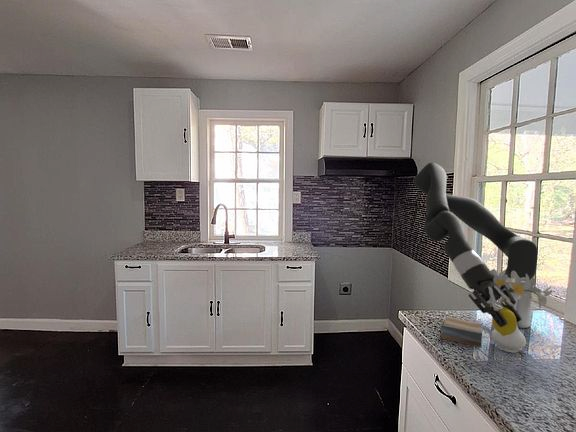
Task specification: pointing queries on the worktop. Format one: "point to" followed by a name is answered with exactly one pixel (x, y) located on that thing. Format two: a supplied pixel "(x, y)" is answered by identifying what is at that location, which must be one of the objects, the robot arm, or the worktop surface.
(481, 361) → the worktop surface
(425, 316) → the worktop surface
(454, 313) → the worktop surface
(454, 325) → the stop board
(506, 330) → the lemon
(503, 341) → the flower vase
